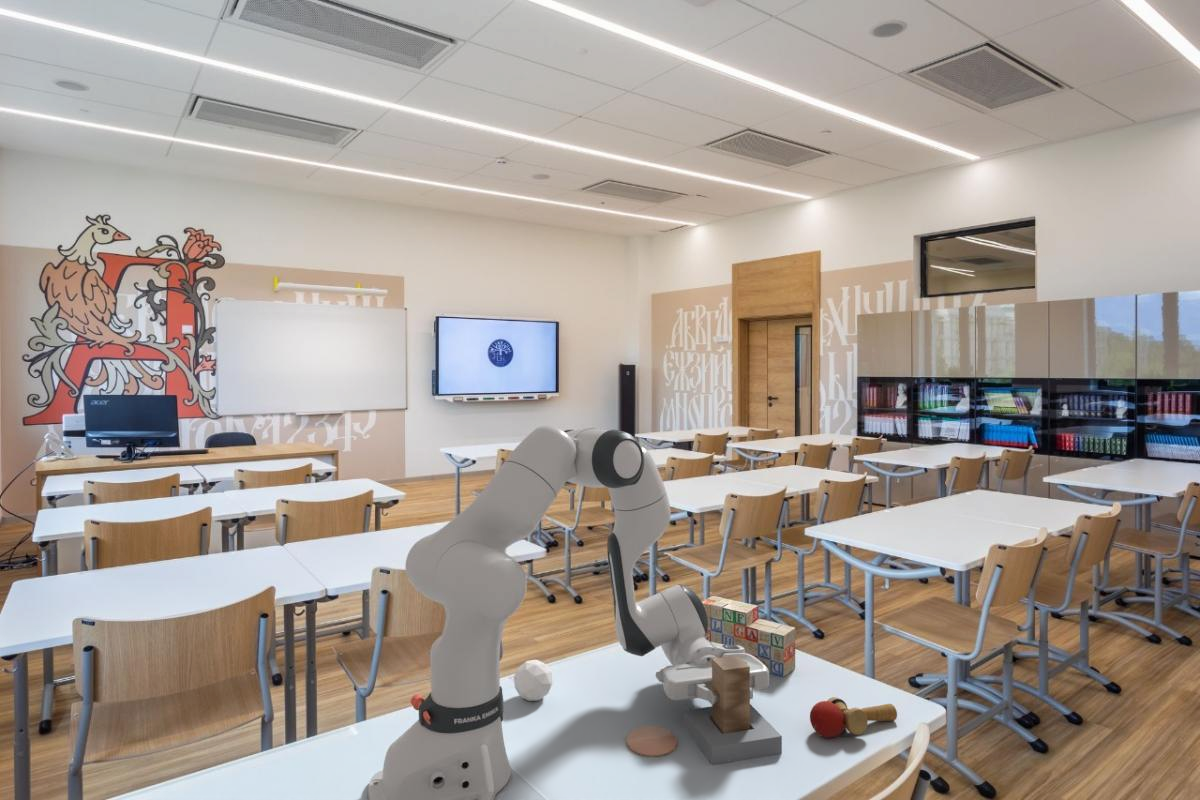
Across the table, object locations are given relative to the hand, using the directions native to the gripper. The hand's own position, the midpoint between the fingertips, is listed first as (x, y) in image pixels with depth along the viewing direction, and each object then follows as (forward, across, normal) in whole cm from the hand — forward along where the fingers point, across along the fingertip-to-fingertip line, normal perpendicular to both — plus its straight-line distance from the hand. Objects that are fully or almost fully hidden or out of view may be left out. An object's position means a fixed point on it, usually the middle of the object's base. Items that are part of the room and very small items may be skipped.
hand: (732, 697), depth 121 cm
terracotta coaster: (-4, -14, +8) cm, 17 cm away
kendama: (+1, +24, +8) cm, 25 cm away
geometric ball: (-26, -32, +8) cm, 42 cm away
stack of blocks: (-31, +18, +8) cm, 37 cm away
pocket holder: (-1, 0, +8) cm, 8 cm away
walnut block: (-1, 0, +8) cm, 8 cm away
